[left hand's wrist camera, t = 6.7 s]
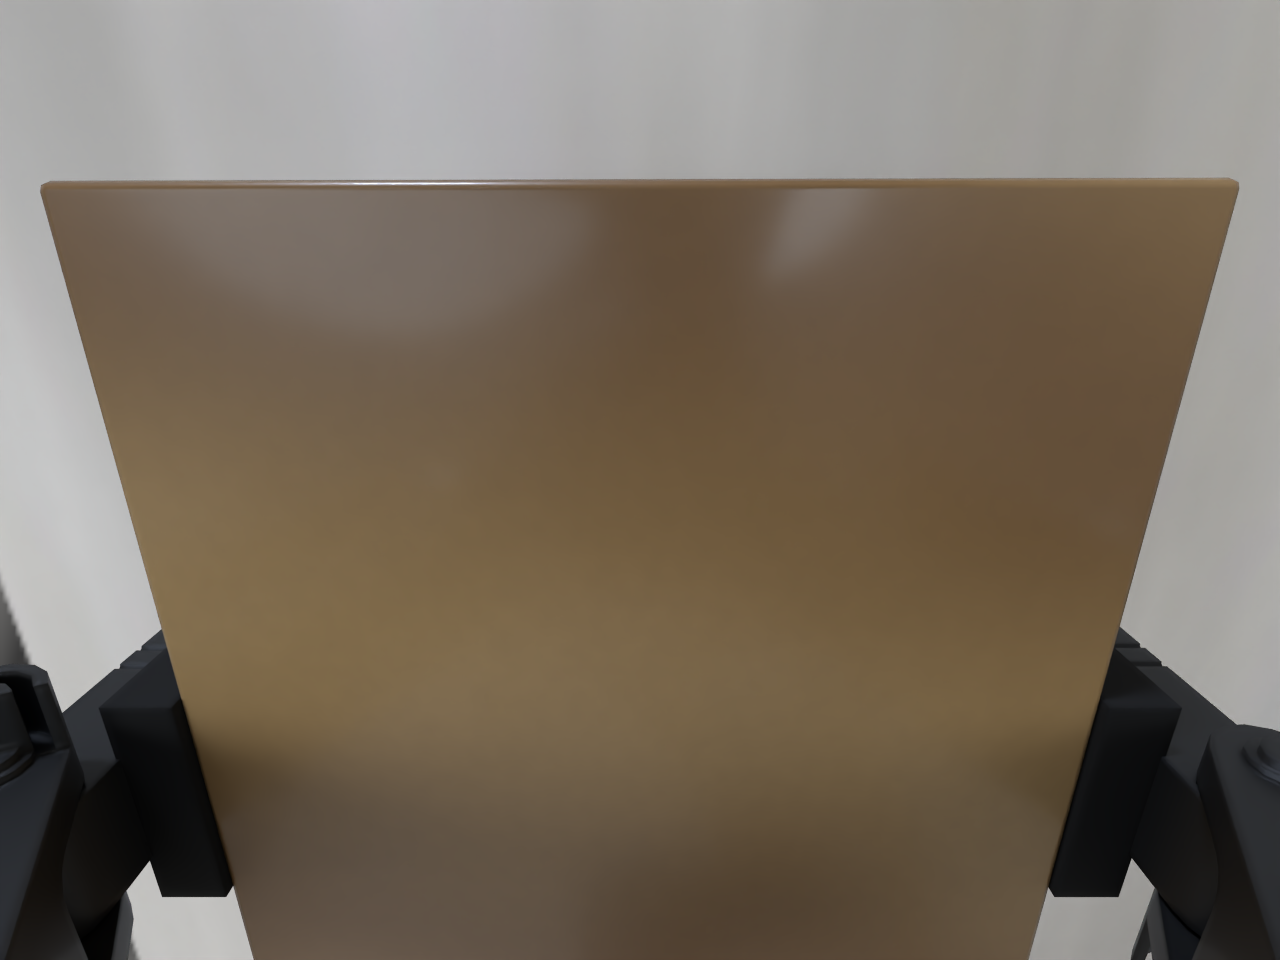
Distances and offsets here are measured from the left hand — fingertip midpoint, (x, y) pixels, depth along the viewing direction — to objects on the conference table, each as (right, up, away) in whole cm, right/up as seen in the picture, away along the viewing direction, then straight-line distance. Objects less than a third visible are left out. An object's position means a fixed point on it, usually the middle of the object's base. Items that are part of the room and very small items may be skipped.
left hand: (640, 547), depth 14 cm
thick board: (0, -17, +7) cm, 19 cm away
